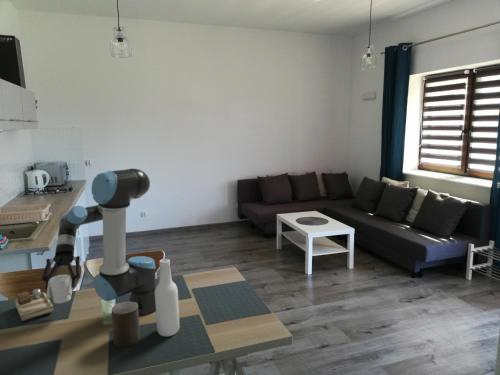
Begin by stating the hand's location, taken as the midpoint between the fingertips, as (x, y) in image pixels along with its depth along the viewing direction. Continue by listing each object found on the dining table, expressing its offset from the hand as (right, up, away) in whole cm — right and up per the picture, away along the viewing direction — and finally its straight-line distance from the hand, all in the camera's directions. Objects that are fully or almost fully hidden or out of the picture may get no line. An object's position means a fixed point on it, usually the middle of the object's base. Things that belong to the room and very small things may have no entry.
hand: (59, 295), depth 153 cm
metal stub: (-18, -6, +16) cm, 25 cm away
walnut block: (-22, -7, +12) cm, 26 cm away
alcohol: (+48, -12, -7) cm, 50 cm away
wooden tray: (-16, -10, +10) cm, 22 cm away
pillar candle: (+33, -14, -12) cm, 38 cm away
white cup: (-1, -3, +4) cm, 5 cm away
